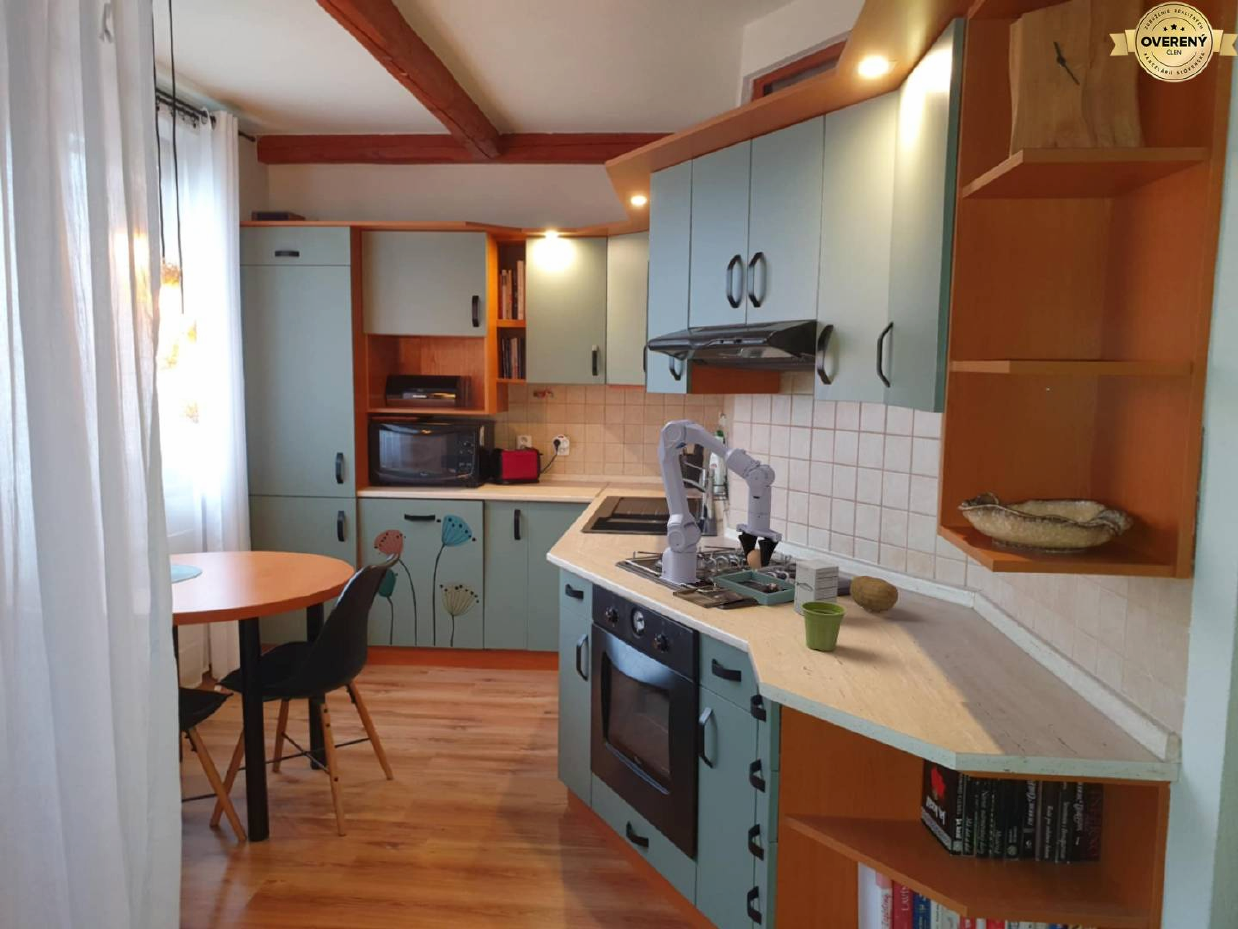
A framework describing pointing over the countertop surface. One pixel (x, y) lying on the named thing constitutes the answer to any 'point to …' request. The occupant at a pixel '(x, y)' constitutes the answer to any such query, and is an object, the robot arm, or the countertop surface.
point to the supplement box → (815, 583)
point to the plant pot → (822, 624)
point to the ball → (754, 559)
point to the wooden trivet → (697, 597)
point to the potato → (873, 593)
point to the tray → (766, 599)
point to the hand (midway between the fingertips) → (757, 563)
